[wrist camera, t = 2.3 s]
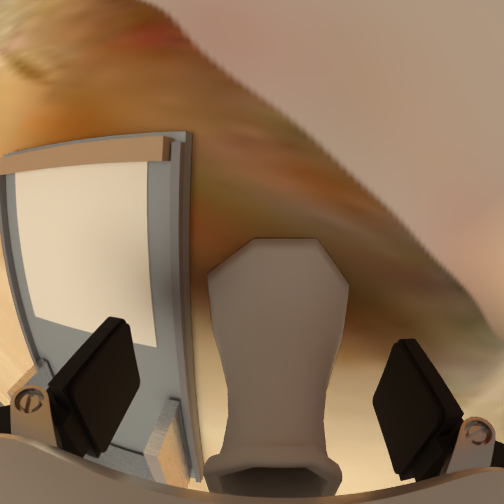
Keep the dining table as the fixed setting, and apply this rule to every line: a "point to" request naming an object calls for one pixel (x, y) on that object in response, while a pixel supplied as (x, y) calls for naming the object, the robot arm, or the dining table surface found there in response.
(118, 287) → the base board
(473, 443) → the robot arm
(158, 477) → the housing
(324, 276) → the flask
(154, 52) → the dining table surface
